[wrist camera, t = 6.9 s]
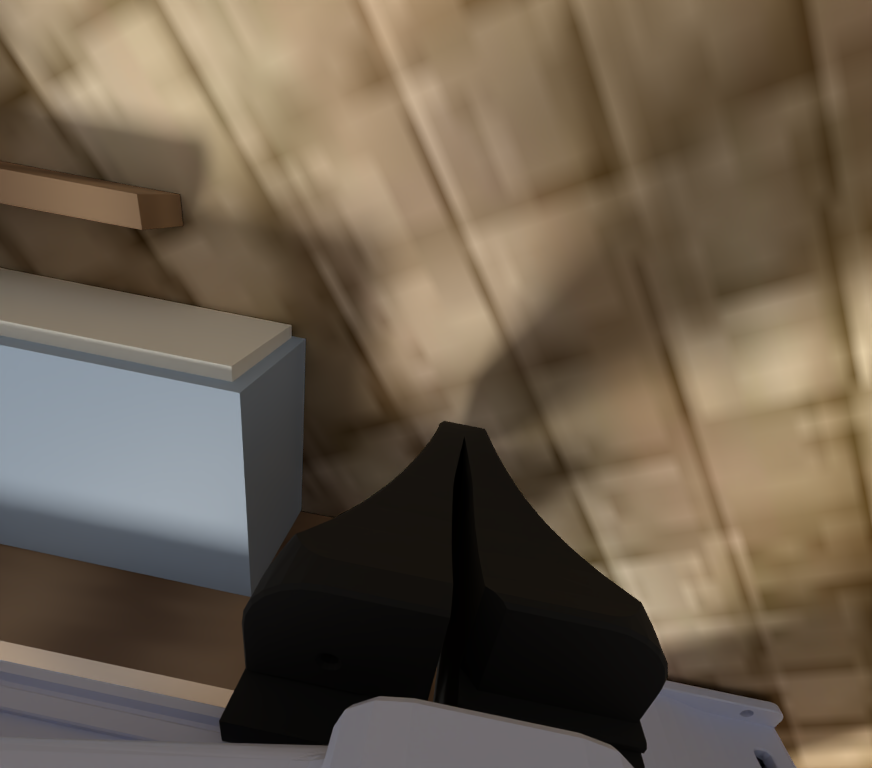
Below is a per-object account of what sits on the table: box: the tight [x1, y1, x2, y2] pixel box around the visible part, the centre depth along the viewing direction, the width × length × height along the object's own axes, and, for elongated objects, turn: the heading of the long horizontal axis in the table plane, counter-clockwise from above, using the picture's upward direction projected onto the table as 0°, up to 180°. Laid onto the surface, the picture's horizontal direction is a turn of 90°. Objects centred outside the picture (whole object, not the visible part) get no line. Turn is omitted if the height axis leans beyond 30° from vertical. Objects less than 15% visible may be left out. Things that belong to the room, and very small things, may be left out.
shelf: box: [0, 161, 437, 708], centre depth 11 cm, size 18×12×6 cm, turn 81°
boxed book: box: [0, 268, 306, 597], centre depth 12 cm, size 10×7×4 cm
